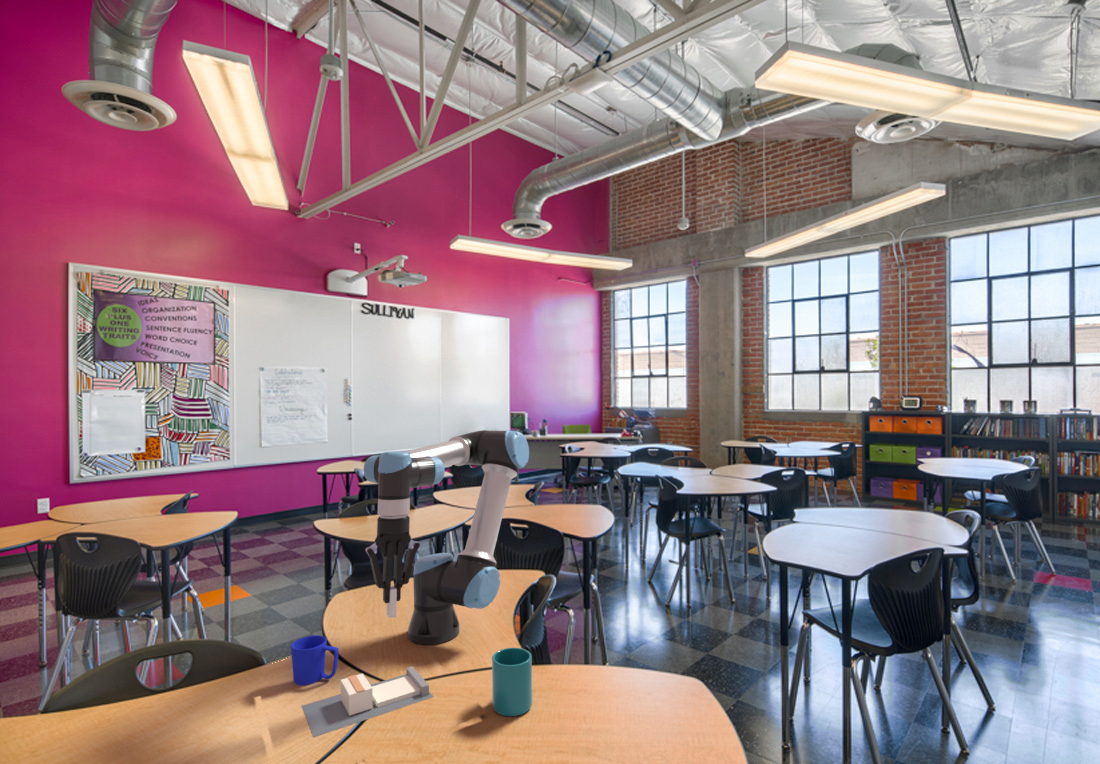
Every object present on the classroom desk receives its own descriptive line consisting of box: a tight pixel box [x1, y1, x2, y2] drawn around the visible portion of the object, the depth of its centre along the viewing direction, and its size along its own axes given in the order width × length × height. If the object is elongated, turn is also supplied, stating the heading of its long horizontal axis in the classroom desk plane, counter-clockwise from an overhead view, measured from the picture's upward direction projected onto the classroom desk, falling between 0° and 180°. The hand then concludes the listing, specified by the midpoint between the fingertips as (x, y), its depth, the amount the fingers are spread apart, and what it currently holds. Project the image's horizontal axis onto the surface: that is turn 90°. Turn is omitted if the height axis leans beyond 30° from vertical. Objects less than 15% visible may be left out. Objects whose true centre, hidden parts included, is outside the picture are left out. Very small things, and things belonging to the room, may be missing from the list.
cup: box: [491, 647, 533, 717], centre depth 124 cm, size 9×12×11 cm
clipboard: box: [301, 665, 434, 738], centre depth 123 cm, size 26×14×3 cm, turn 124°
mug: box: [290, 635, 340, 686], centre depth 134 cm, size 8×12×10 cm
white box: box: [340, 673, 373, 716], centre depth 122 cm, size 5×8×5 cm, turn 34°
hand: (391, 615), depth 128 cm, fingers closed
